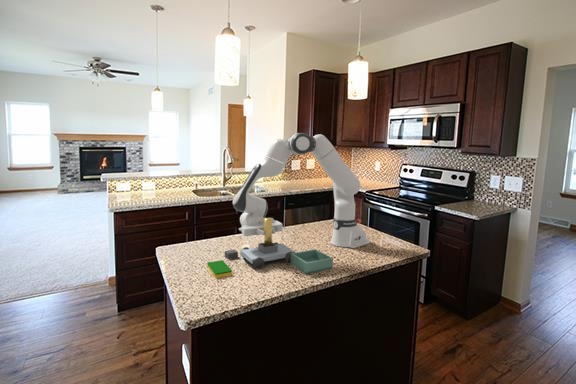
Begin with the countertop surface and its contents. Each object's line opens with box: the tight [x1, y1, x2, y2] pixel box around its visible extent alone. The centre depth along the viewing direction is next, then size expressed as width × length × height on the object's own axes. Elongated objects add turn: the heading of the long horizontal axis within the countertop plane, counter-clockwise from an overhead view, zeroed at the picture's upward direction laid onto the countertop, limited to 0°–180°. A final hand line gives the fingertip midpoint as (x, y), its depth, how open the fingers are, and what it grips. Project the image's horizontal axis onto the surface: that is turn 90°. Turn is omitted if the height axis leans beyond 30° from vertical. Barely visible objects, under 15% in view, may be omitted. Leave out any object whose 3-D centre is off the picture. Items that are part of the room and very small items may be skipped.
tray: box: [290, 248, 334, 276], centre depth 145 cm, size 14×14×5 cm
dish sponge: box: [206, 259, 233, 279], centre depth 140 cm, size 7×14×2 cm, turn 28°
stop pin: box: [263, 217, 273, 247], centre depth 151 cm, size 4×4×15 cm
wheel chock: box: [224, 249, 239, 260], centre depth 156 cm, size 5×4×3 cm
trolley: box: [239, 241, 296, 270], centre depth 152 cm, size 22×16×8 cm
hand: (268, 232), depth 150 cm, fingers closed on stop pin, 4 cm apart
